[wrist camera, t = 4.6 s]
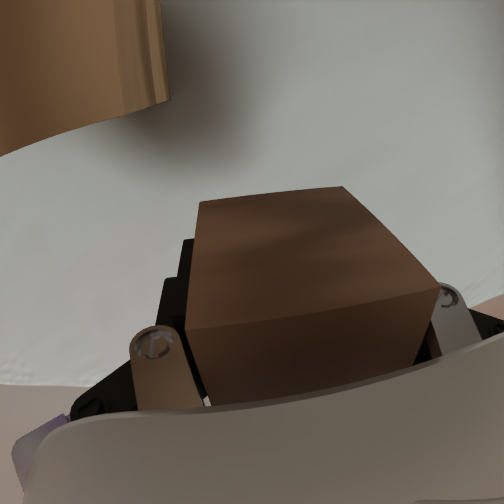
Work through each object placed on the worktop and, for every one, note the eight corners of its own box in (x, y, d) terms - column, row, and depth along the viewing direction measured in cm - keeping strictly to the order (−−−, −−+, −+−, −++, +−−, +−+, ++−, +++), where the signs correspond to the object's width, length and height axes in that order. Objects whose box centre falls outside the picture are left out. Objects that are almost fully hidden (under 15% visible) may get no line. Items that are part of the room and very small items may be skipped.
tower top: (144, -24, 8) (113, -75, 3) (156, 104, 11) (125, 115, 7) (19, 22, 7) (-49, 11, 3) (33, 139, 10) (-35, 173, 6)
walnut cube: (342, 186, 10) (441, 286, 5) (335, 296, 13) (389, 412, 8) (199, 202, 10) (184, 329, 5) (220, 313, 13) (227, 445, 8)
